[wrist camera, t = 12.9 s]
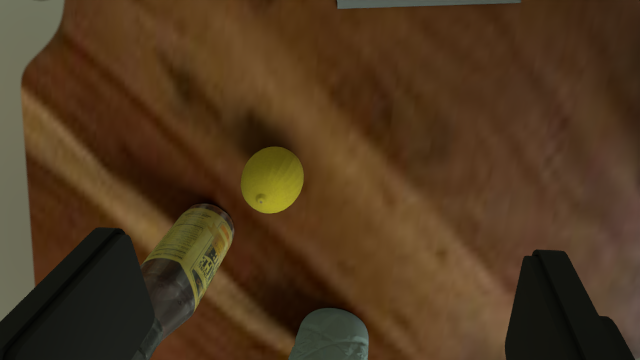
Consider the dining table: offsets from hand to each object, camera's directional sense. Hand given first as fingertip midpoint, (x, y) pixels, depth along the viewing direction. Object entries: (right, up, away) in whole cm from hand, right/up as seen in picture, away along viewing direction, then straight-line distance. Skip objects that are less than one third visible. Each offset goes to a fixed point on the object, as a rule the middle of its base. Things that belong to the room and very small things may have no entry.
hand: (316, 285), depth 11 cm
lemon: (-4, +5, +34) cm, 34 cm away
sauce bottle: (-12, -2, +39) cm, 41 cm away
